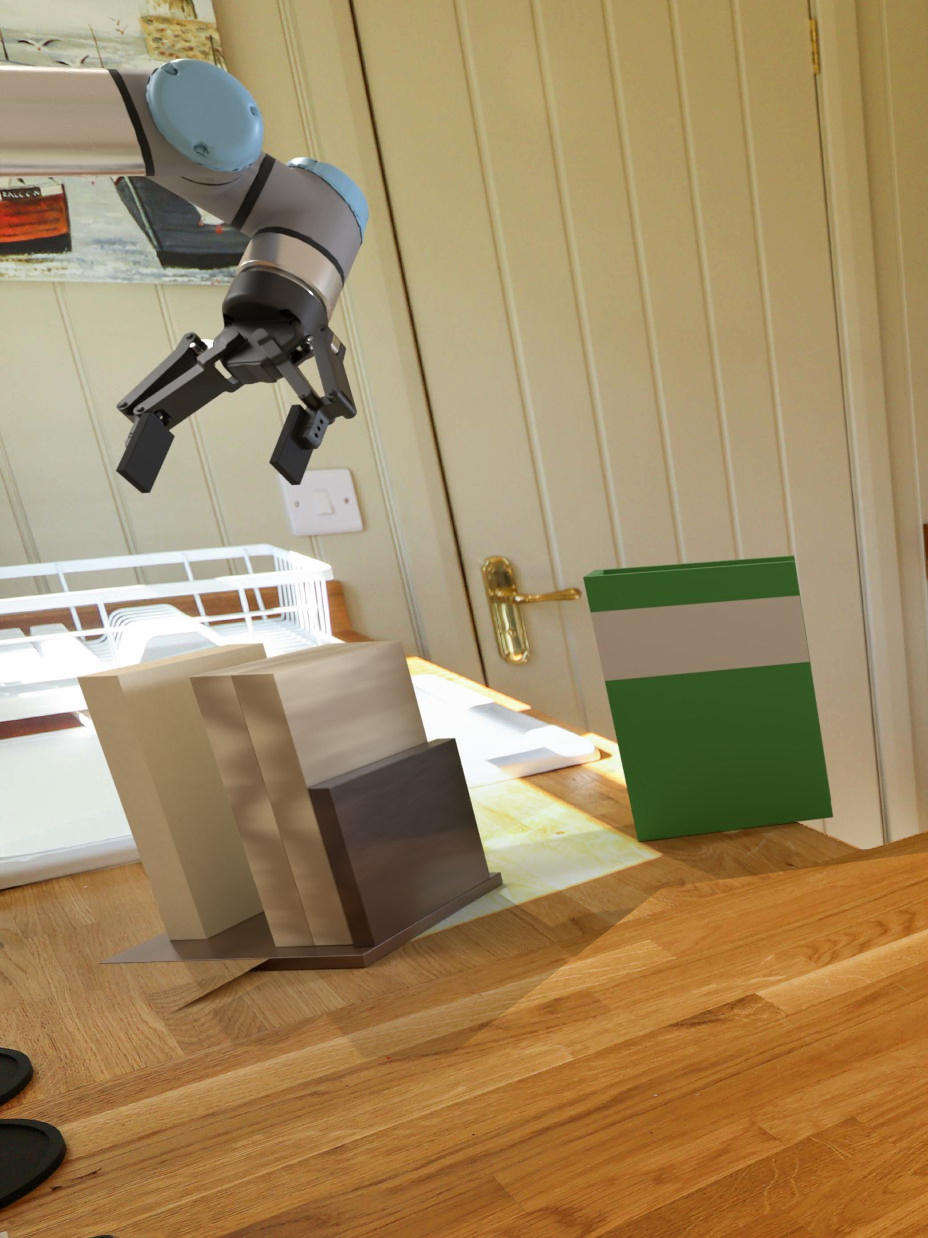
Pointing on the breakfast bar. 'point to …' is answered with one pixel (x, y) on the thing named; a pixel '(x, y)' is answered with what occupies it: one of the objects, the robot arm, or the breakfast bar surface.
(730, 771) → the hardback book
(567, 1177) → the breakfast bar surface
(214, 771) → the thin cream book
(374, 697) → the book rack
